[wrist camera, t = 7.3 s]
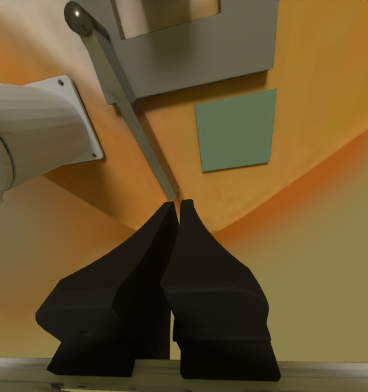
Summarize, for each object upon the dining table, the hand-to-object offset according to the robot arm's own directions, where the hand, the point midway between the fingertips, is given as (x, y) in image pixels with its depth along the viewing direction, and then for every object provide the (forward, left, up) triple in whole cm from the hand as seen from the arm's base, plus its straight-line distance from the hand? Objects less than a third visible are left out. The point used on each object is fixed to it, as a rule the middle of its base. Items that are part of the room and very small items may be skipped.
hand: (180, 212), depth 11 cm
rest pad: (+6, +3, -9) cm, 11 cm away
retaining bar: (-3, +5, -8) cm, 10 cm away
